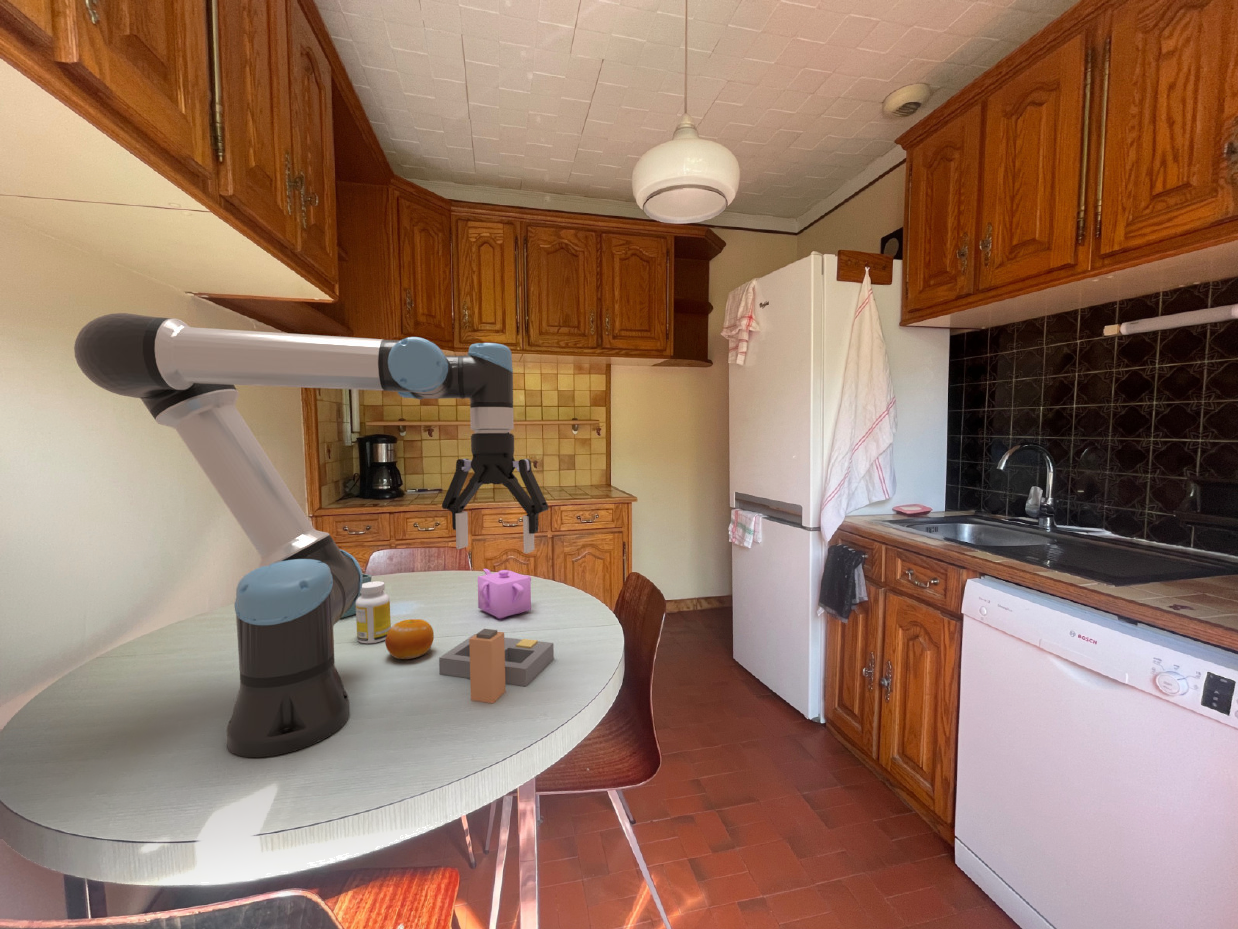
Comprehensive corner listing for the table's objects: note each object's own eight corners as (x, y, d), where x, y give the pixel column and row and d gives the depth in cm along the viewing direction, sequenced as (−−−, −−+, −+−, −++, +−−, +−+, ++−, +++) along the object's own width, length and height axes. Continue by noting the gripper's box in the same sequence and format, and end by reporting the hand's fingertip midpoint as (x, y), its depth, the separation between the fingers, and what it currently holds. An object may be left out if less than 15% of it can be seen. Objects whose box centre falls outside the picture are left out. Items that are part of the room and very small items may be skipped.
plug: (492, 703, 83) (491, 637, 82) (470, 700, 84) (469, 635, 83) (505, 691, 86) (504, 628, 86) (484, 688, 88) (482, 626, 87)
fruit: (442, 626, 107) (420, 600, 103) (439, 657, 99) (415, 630, 95) (406, 645, 107) (382, 620, 103) (399, 677, 99) (373, 651, 95)
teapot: (461, 608, 128) (460, 568, 128) (510, 596, 138) (509, 558, 137) (498, 628, 115) (497, 583, 115) (550, 613, 125) (549, 571, 124)
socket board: (526, 686, 88) (525, 666, 88) (439, 674, 93) (439, 655, 93) (553, 658, 99) (553, 640, 99) (475, 648, 104) (474, 632, 104)
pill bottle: (397, 633, 113) (395, 580, 112) (380, 645, 106) (378, 589, 106) (368, 632, 113) (366, 579, 113) (350, 644, 107) (348, 588, 106)
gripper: (565, 431, 93) (566, 548, 95) (445, 432, 101) (448, 541, 102) (547, 431, 86) (549, 558, 87) (419, 432, 93) (423, 550, 95)
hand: (495, 549), depth 95 cm, fingers open, 13 cm apart
